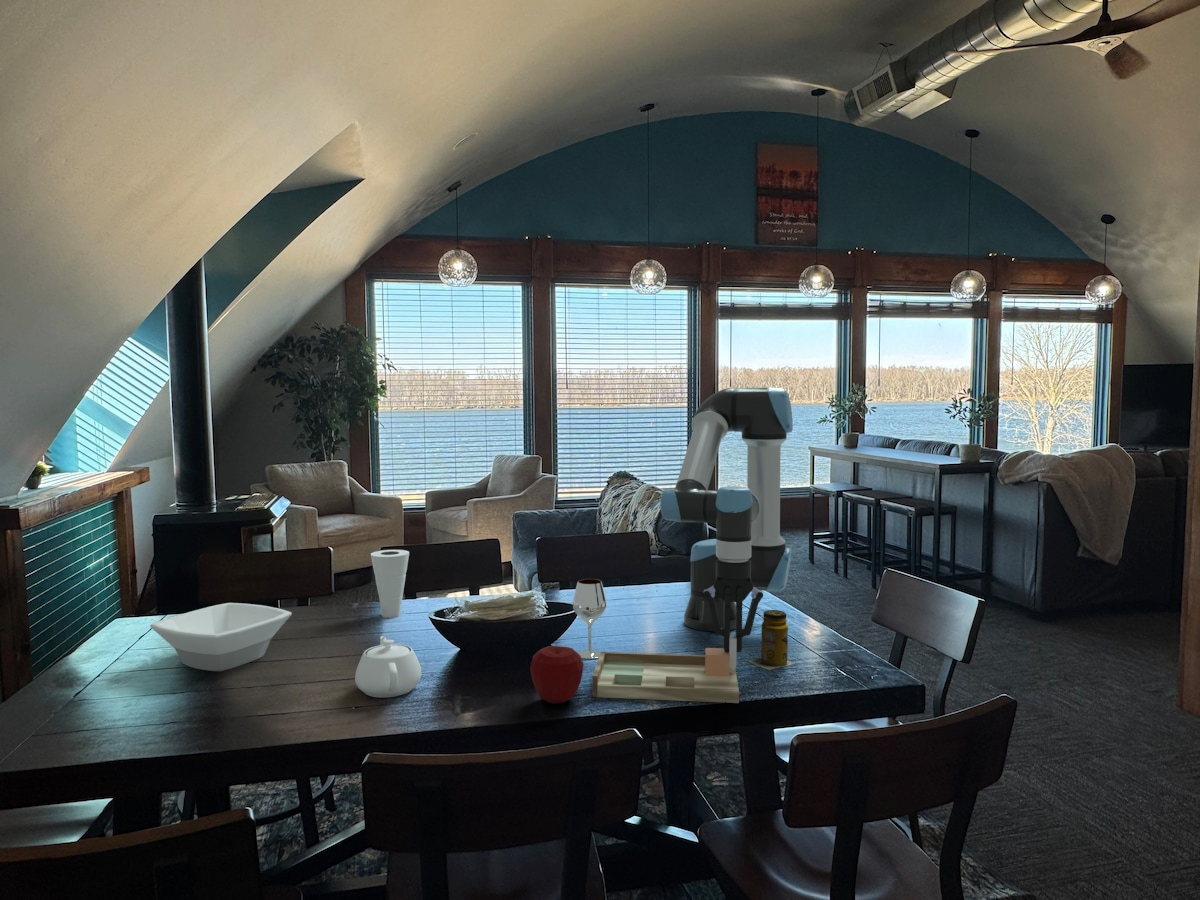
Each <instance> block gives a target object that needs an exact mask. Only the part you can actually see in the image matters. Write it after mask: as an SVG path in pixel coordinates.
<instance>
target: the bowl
mask: <svg viewBox="0 0 1200 900" xmlns="http://www.w3.org/2000/svg"><path fill="white" fill-rule="evenodd" d="M291 616H292V611H289V610H286V609H282V608H277V607H273V606H268V605H262V604H254V603H253V604H251V603H241V602H240V603H239V602H226V603H220V604H215V605H212V606H210V605H209V606H207V607H203V608H199V609H195V610H192V611H188V612H186V613H181V614H178V615H175V616H171V617H166V618H163V619H161V620H158V621H155V622H153V623H151V624H150V625H149V626H150V628H151V629H152V630H153V631H154V632H155V633H157V635H158V636H160V637H161V638H162V639H163V640H164V641H166V642H167V643H168V644H169V645H170V646H171V647H173V648H174V649H175V652H176V653H177V655H178V657H179V660H181V663H182V664H183V665H185V666H187V667H189V668H193V669H197V670H203V671H209V672H210V671H211V672H224V671H228V670H231V669H234V668H237V667H240V666H242V665H246V664H248V663H250V662H253V661H256V660H259V659H260V658H262V657H263V656H264V655H265V653H266V652H267V650H268V647H269V644H270V642H271V640H272V638H273V637H274V636H275V635H276V633H277V632H278V631H279V630H280V629H281V628H282V626H284V624H286V622H287V621H288V619H289V618H290V617H291Z"/></svg>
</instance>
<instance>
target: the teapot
mask: <svg viewBox="0 0 1200 900" xmlns="http://www.w3.org/2000/svg"><path fill="white" fill-rule="evenodd" d="M379 639H380V640H379V644H378V645H375V646H372V647H369V648H367V649H366V650H364V652H362V655H361V657H360V660H359V663H358V665H357V667H356V671H355V675H354V677H355V678H354V680H355V682H354V683H355V685H356V686H357V688H358V689H359V690H360V691H361V692H363V693H364V694H365V695H366V696H369V697H372V698H384V699H385V698H394V697H398V696H402V695H405V694H408V693H409V692H411V691H412V690H413V689H414V688H415V687H416V686H417V685H418V683H420V681H421V679H422V667H421V664H420V661H419V659H418V657H417V655H416V653H415V651H414V649H413V647H411V646H409V645H406V644H402V643H395V641H394V640H393V639H387V638H386V636H385V635H381V636H380V637H379Z"/></svg>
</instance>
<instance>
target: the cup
mask: <svg viewBox="0 0 1200 900" xmlns="http://www.w3.org/2000/svg"><path fill="white" fill-rule="evenodd" d="M409 556H410V551H409V550H405V549H382V550H377V551H373V552H371V553H370V558H371V562H372V563H371V564H372V568H373V573H374V579H375V584H376V588H377V595H378V600H379V605H380V609H381V614H382V615H381V616H382V617H383V618H387V619H389V618H391V619H392V618H397V617H399V616H400V615H401V611H402V603H403V594H404V588H405V582H406V576H407V574H406V573H407V570H408V564H409Z"/></svg>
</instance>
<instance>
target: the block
mask: <svg viewBox="0 0 1200 900" xmlns="http://www.w3.org/2000/svg"><path fill="white" fill-rule="evenodd" d="M704 650H705V651H704V652H705V654H704V655H705V673H706V676H729V652H725V651H724V647H723V648H720V647H719V648H718V647H705V649H704Z"/></svg>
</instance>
